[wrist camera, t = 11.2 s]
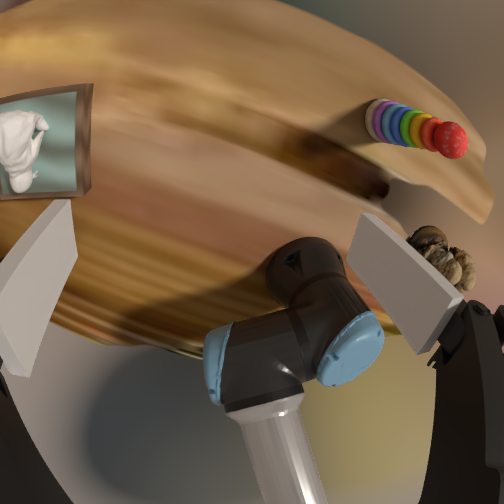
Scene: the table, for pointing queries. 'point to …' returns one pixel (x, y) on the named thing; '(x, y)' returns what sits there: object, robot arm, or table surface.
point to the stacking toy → (414, 129)
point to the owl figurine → (444, 257)
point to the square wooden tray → (56, 142)
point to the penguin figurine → (20, 146)
